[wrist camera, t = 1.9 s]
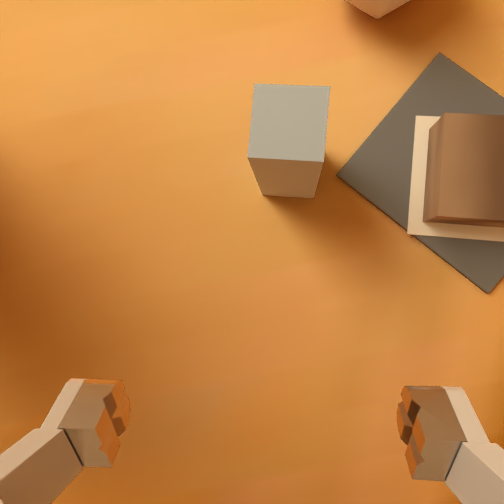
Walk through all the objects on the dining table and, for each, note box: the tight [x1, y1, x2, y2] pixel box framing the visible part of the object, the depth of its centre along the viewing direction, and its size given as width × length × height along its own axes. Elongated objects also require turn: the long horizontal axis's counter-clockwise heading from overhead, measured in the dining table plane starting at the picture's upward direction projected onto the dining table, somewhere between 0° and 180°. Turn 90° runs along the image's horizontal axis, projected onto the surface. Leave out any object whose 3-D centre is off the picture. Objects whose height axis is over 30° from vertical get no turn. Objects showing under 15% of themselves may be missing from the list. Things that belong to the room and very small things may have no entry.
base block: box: [422, 113, 504, 228], centre depth 27 cm, size 7×7×3 cm
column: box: [248, 84, 330, 199], centre depth 25 cm, size 4×4×10 cm
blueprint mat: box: [337, 52, 504, 293], centre depth 28 cm, size 14×12×1 cm
